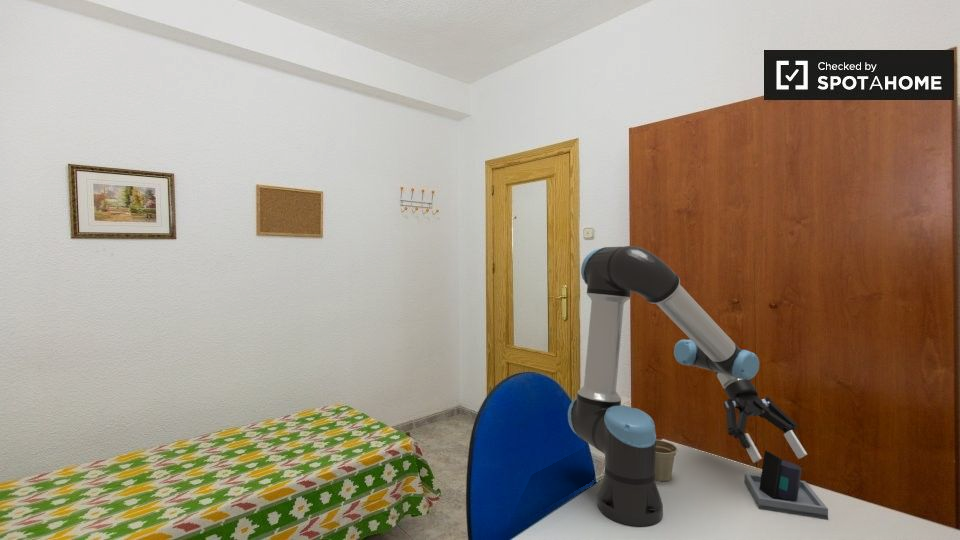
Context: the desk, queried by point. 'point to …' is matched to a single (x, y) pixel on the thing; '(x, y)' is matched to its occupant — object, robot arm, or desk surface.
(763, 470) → the dark cylinder with plate
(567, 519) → the desk surface
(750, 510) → the desk surface
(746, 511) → the desk surface
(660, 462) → the flower pot
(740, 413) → the robot arm
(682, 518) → the desk surface
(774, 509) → the tray
